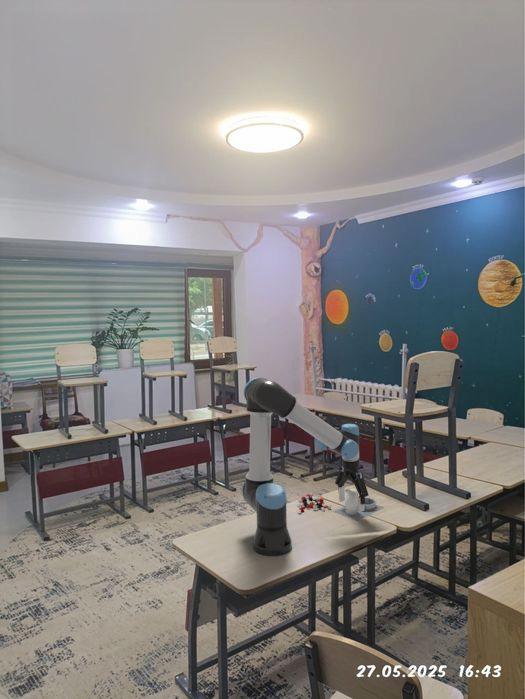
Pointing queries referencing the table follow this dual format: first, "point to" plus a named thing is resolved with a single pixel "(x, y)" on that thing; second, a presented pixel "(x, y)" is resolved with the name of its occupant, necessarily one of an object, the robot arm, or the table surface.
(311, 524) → the table surface
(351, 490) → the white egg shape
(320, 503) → the molecular model
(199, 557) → the table surface
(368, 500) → the duct collar
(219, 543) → the table surface
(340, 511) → the board
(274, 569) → the table surface
